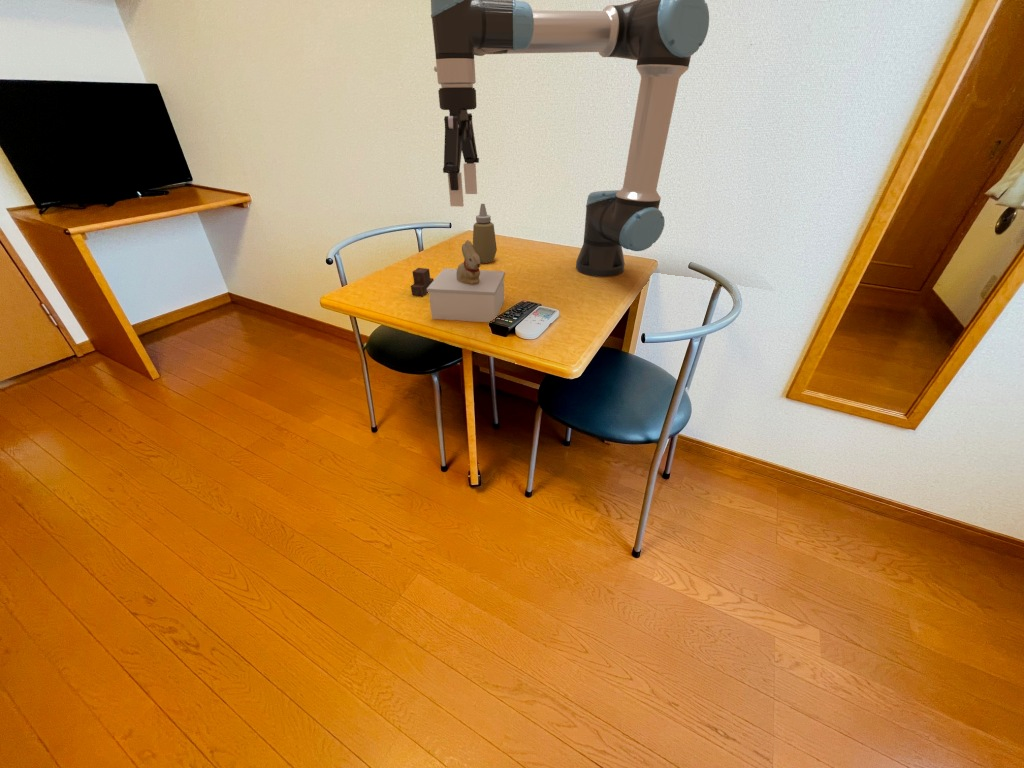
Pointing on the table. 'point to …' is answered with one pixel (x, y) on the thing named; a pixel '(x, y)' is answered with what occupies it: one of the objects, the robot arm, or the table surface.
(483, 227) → the squeeze bottle
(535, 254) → the table surface
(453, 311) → the storage box
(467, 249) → the chocolate bunny
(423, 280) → the stack of crates
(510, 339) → the table surface
